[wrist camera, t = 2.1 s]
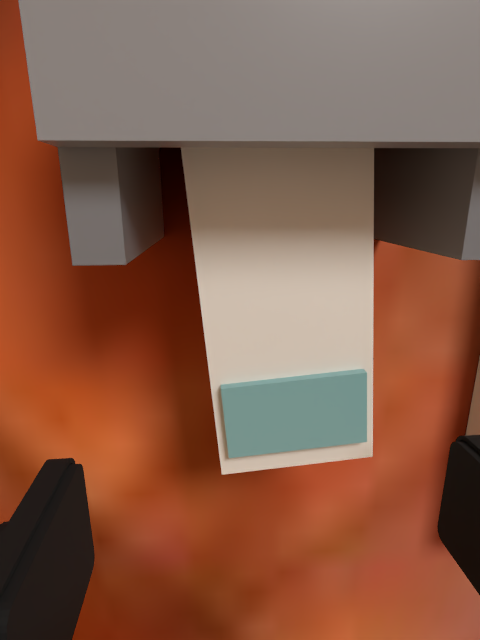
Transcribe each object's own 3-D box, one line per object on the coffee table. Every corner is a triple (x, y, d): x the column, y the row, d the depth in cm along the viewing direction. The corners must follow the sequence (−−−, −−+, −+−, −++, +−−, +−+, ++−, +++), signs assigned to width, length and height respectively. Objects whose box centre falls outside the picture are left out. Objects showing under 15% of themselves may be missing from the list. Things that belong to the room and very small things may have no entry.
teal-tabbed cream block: (313, 66, 15) (380, -22, 9) (324, 378, 19) (376, 462, 13) (181, 78, 15) (161, -4, 9) (219, 390, 19) (222, 481, 13)
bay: (407, -9, 14) (655, -277, 6) (383, 234, 17) (540, 265, 9) (114, -16, 14) (-27, -324, 6) (134, 236, 16) (56, 273, 8)
